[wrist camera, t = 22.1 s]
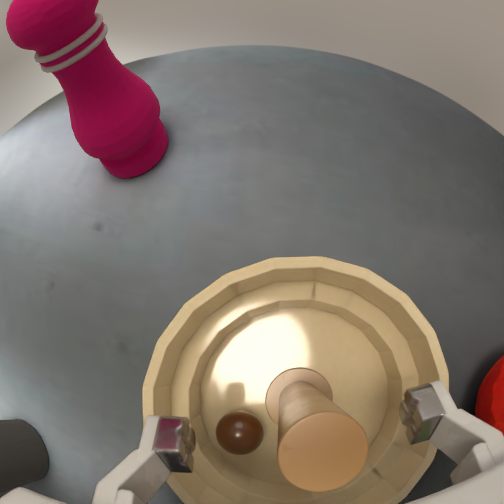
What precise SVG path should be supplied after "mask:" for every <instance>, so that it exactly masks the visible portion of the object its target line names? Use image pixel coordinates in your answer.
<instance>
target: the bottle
mask: <svg viewBox="0 0 504 504" xmlns="http://www.w3.org/2000/svg"><path fill="white" fill-rule="evenodd" d="M48 466H49V461H48V455H47V451H46V448H45V445H44V443H43V441H42V440H41V438H40V436H39V435H38V433H37V432H36V431H35V429H34V428H33V427H32V426H31V425H29V424H28V423H27V422H25V421H23V420H18V419H14V420H0V492H1V491H5V490H8V489H11V488H15V487H18V486H21V485H24V484H27V483H30V482H33V481H36V480H38V479H41V478H43V477H44V476H45V475H46V473H47V471H48Z"/></svg>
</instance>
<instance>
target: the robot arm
mask: <svg viewBox="0 0 504 504" xmlns="http://www.w3.org/2000/svg"><path fill="white" fill-rule="evenodd" d="M403 396H404V398H405V399H404V400H403V401H401V403H400V406H399V415H400V419H401V422H402V424H403V425H405V426H407V429H406V432H405V433H406V435H407V438H408V441H409V443H410V445H413V444H417V443H420V442H424V441H427V440H429V441H430V442H431V443H432V444H433V445H435V446H436V447H437V448H438V449H440V450H441V451H442V452H443V453H445V454H446V455H447V456H448V457H450V458H451V459H452V460H453V461H454V462H456V463H457V464H458V466H457V467H456V468H455V469H454V470H453V472H452V473H451V475H450V478H451V481H452V483H453V486H451V487H449V488H446V489H444V490H441V491H439V492H436V493H434V494H431V495H428V496H425V497H423V498H420V499H417V500H414V501H411V502H408V503H405V504H504V436H503V434H502V432H501V431H499V430H497V429H496V428H494V427H492V426H490V425H489V424H487V423H485V422H483V421H482V420H480V419H478V418H476V417H475V416H473V415H471V414H469V413H468V412H466V411H464V410H463V409H457V407H456V405H455V403H454V401H453V399H452V398H451V396H450V394H449V392H448V390H447V388H446V387H445V385H444V383H443V381H441V380H437V381H434V382H431V383H426V384H423V385H420V386H416V387H413V388H409V389H406V390H405V392H404V394H403ZM189 423H190V421H189V419H188V417H178V416H154V415H148V417H147V418H146V421H145V424H144V428H143V432H142V436H141V440H140V444H139V448H138V450H134V451H133V452H131V453H130V454H129V455H128V456H127V457H126V458H125V459H124V460H123V461H122V462H121V463H119V464H118V465H117V466H116V467H115V468H114V469H113V470H112V471H111V472H109V473H108V474H107V475H106V476H105V477H104V478H103V479H102V480H100V481H99V482H98V483H97V486H96V490H95V493H94V497H93V501H92V504H147V503H148V501H149V500H150V499H151V498H152V497H153V495H154V494H155V493H156V492H157V491H158V489H159V488H160V487H161V486H162V485H163V483H164V482H165V481H166V480H167V479H168V477H169V476H170V475H171V474H172V473H171V472H177V473H192V472H193V464H194V458H193V456H192V454H191V453H192V452H193V451H194V450H195V447H196V436H195V432H194V429H193V428H192V427H191V426H189ZM0 504H67V503H64V502H61V501H58V500H55V499H52V498H49V497H46V496H44V495H41V494H39V493H36V492H34V491H31V490H29V489H26V488H22V487H18V488H16V489H14V490H12V491H10V492H9V493H7V494H5V495H4V496H2V497H1V498H0Z"/></svg>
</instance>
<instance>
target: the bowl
mask: <svg viewBox="0 0 504 504" xmlns="http://www.w3.org/2000/svg"><path fill="white" fill-rule="evenodd" d="M292 368H308V369H311V370H314V371H316V372H318V373H319V374H321V375H322V376H323V377H324V378H325V379H326V380H327V382H328V383H329V385H330V387H331V390H332V394H333V402H334V403H335V404H336V405H337V406H339V407H340V408H341V409H342V410H344V411H345V412H346V413H347V414H349V415H350V416H351V417H352V418H354V419H355V420H356V421H357V422H358V423H359V424H360V425H361V426H362V427H363V429H364V431H365V433H366V435H367V438H368V445H369V449H368V455H367V459H366V461H365V464H364V466H363V467H362V469H361V470H360V472H359V473H358V474H357V475H356V476H355V477H354V478H353V479H352V480H351V481H350V482H348V483H347V484H345V485H343V486H341V487H339V488H336V489H334V490H330V491H324V492H312V491H307V490H303V489H300V488H298V487H296V486H294V485H293V484H291V483H290V482H289V481H288V480H287V479H286V478H285V477H284V476H283V474H282V473H281V471H280V468H279V466H278V461H277V445H278V425H277V424H276V423H275V422H274V421H273V420H272V419H271V418H270V416H269V414H268V412H267V409H266V403H265V400H266V393H267V390H268V388H269V386H270V384H271V382H272V381H273V380H274V378H275V377H276V376H278V375H279V374H280V373H282V372H284V371H286V370H288V369H292ZM437 380H441V381H443V383H444V385H445V387H446V388H447V390H448V392H449V373H448V369H447V366H446V363H445V360H444V357H443V354H442V351H441V348H440V345H439V342H438V339H437V336H436V333H435V331H434V329H433V328H432V326H431V325H430V324H429V322H428V321H427V320H426V319H425V317H424V316H423V315H422V313H421V312H420V311H419V309H418V308H417V307H416V306H415V304H414V303H413V302H412V300H411V299H410V298H409V297H408V295H406V294H405V293H404V292H402V291H401V290H399V289H398V288H396V287H395V286H393V285H392V284H390V283H389V282H387V281H386V280H384V279H383V278H381V277H380V276H378V275H377V274H375V273H374V272H372V271H371V270H369V269H367V268H363V267H360V266H356V265H352V264H349V263H345V262H341V261H338V260H334V259H331V258H327V257H321V256H309V257H280V258H273V259H272V258H270V259H267V260H264V261H261V262H259V263H256V264H253V265H250V266H247V267H244V268H241V269H238V270H235V271H232V272H229V273H227V274H226V275H223V276H222V277H220V278H219V279H218V280H216V281H215V282H214V283H212V284H211V285H209V286H208V287H207V288H205V289H204V290H203V291H201V292H200V293H198V294H197V295H196V296H194V297H193V298H192V299H190V300H189V301H187V302H186V303H185V304H184V305H183V307H182V308H181V309H180V311H179V312H178V313H177V315H176V316H175V318H174V319H173V320H172V322H171V323H170V324H169V326H168V327H167V328H166V330H165V331H164V332H163V334H162V335H161V337H160V338H159V339H158V341H157V343H156V346H155V349H154V352H153V355H152V358H151V361H150V365H149V368H148V371H147V374H146V377H145V380H144V383H143V428H144V424H145V421H146V418H147V417H148V415H154V416H178V417H188V419H189V421H190V423H189V426H191V427H192V428H193V429H194V432H195V436H196V447H195V450H194V451H193V452H192V453H191V454H192V456H193V458H194V464H193V472H192V473H177V472H171V473H172V474H171V475H170V476H169V477H168V479H167V480H166V482H167V484H168V485H169V486H170V487H171V488H172V490H173V491H174V492H175V493H176V494H177V496H178V497H179V498H180V499H181V500H182V501H183V503H184V504H398V503H399V502H400V501H402V500H403V499H404V498H405V497H406V496H407V495H408V494H409V492H410V491H411V490H412V489H413V487H414V486H415V485H416V483H417V482H418V481H419V480H420V478H421V477H422V476H423V474H424V473H425V471H426V470H427V469H428V467H429V466H430V464H431V463H432V461H433V459H434V457H435V454H436V452H437V449H438V448H437V447H436V446H435V445H433V444H432V443H431V442H430V441H429V440H427V441H424V442H420V443H417V444H413V445H410V443H409V441H408V438H407V435H406V433H405V432H406V429H407V426H405V425H403V424H402V422H401V419H400V415H399V406H400V403H401V401H403V400H404V399H405V398H404V396H403V394H404V392H405V390H406V389H409V388H413V387H416V386H420V385H423V384H426V383H431V382H434V381H437ZM233 411H246V412H249V413H251V414H253V415H255V416H256V417H257V418H258V419H259V420H260V422H261V424H262V426H263V430H264V436H263V440H262V442H261V444H260V446H259V447H258V448H257V449H256V450H254V451H253V452H251V453H249V454H245V455H235V454H231V453H229V452H227V451H225V450H224V449H223V448H222V447H221V446H220V445H219V443H218V441H217V438H216V427H217V424H218V422H219V421H220V419H221V418H222V417H223V416H224V415H226V414H228V413H230V412H233Z"/></svg>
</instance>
